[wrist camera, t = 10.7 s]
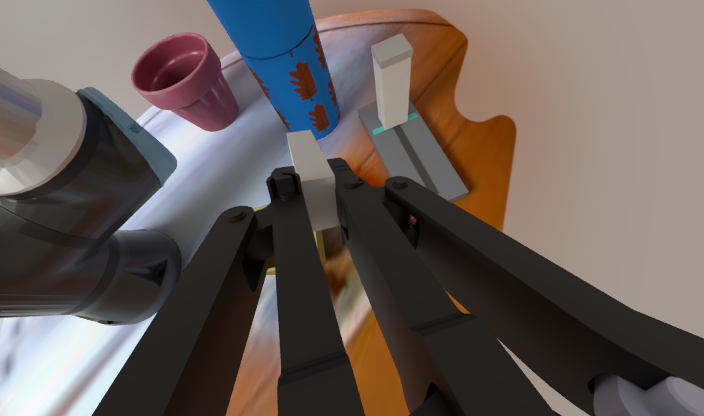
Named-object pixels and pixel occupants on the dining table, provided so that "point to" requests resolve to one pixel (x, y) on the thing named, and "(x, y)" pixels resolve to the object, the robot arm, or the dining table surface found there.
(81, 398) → the dining table surface
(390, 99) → the fader tab
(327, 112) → the thermos
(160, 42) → the plant pot
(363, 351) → the dining table surface
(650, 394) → the robot arm
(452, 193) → the console
